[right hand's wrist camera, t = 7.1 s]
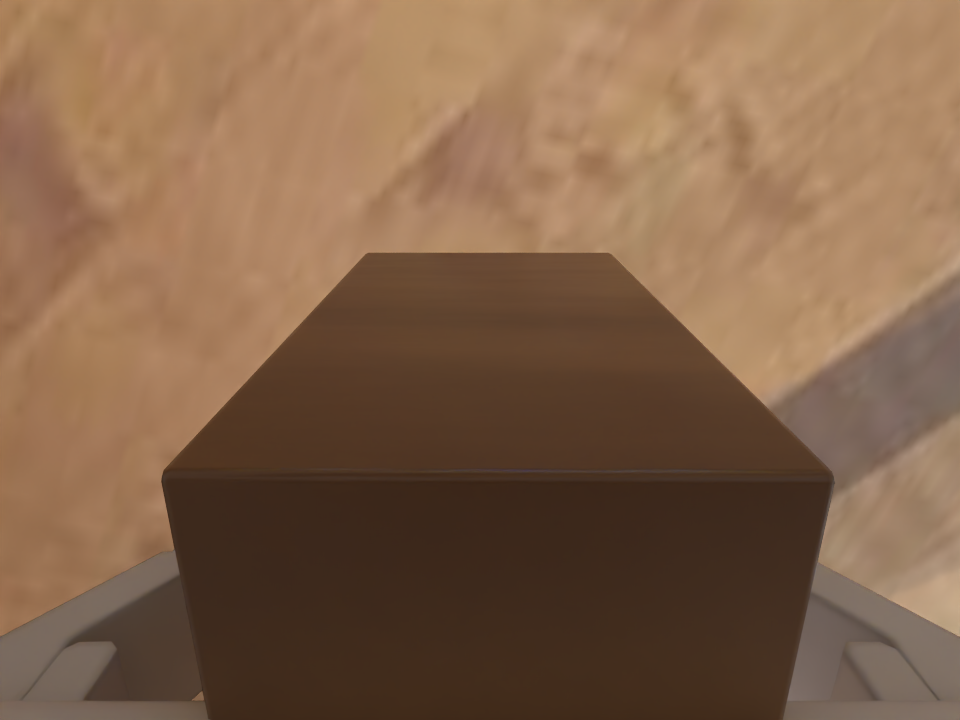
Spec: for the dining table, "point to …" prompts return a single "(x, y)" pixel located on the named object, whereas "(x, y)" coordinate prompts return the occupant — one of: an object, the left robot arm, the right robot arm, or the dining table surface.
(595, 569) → the bar
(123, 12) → the dining table surface
